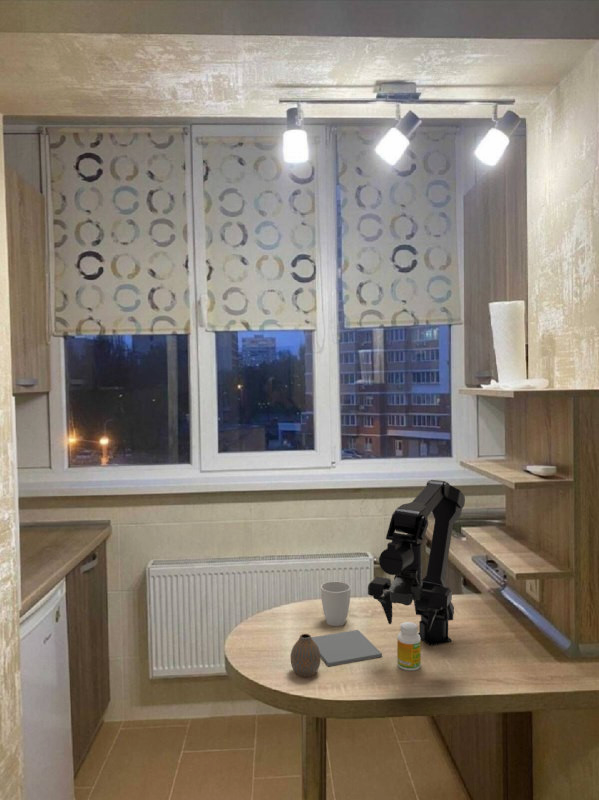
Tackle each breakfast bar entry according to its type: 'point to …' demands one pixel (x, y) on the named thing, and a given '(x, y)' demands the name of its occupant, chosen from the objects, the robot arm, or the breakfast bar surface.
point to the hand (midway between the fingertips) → (409, 627)
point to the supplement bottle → (409, 647)
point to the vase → (305, 656)
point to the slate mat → (345, 647)
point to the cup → (335, 602)
